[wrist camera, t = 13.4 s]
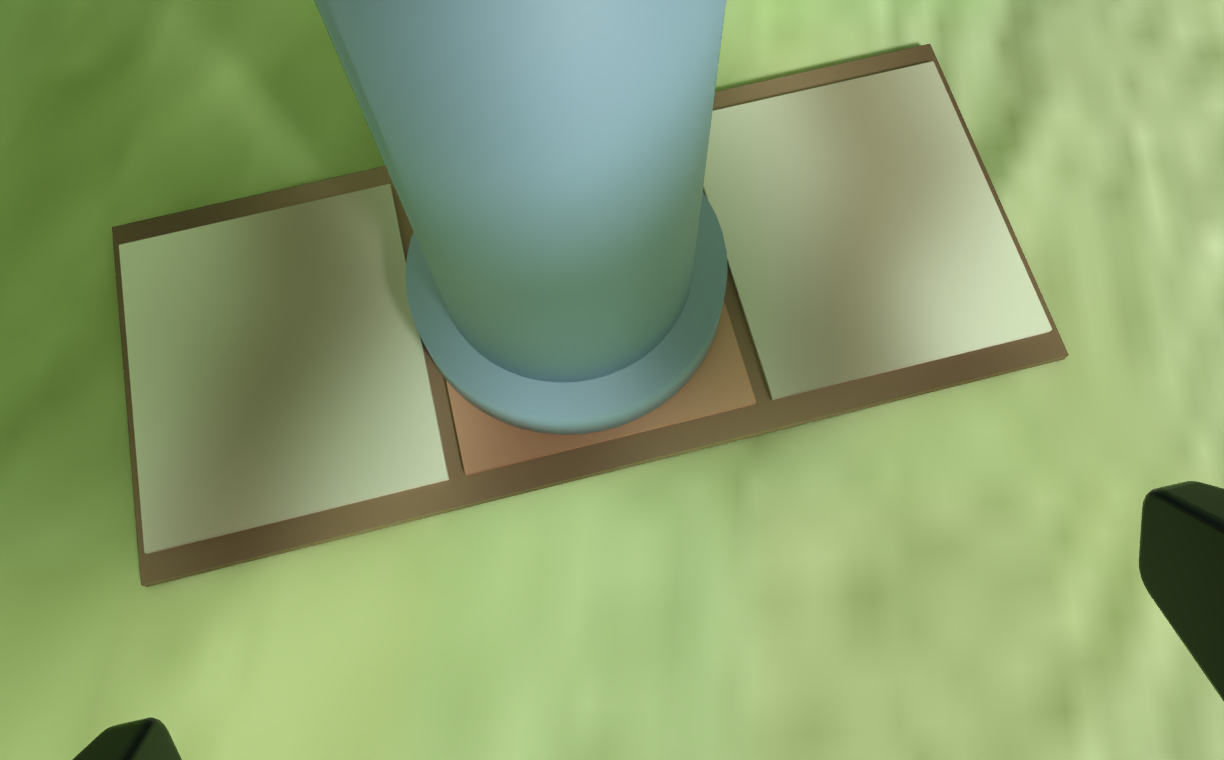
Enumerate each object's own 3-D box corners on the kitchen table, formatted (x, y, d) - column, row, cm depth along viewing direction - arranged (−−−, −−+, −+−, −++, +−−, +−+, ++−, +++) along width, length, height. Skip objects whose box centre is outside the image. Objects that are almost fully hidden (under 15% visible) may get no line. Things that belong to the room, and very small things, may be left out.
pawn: (494, 489, 17) (29, -360, 4) (371, 232, 19) (-230, -939, 6) (779, 348, 18) (1179, -750, 5) (634, 114, 19) (634, -1149, 6)
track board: (146, 586, 17) (137, 583, 16) (117, 232, 19) (108, 223, 19) (1064, 359, 18) (1070, 352, 17) (926, 49, 20) (931, 39, 20)
